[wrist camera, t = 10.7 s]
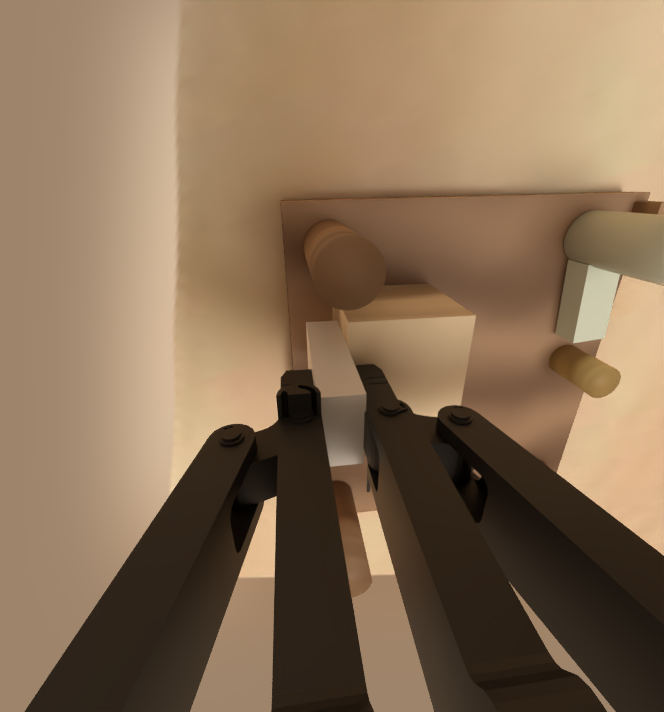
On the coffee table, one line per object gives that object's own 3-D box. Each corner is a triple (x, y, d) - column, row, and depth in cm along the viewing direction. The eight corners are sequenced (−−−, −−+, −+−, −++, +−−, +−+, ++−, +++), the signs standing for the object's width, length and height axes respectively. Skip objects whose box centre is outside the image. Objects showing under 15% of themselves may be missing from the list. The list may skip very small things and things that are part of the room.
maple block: (332, 288, 18) (348, 322, 13) (428, 283, 18) (476, 315, 14) (333, 375, 20) (347, 430, 15) (419, 369, 20) (457, 421, 16)
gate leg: (568, 213, 17) (767, 232, 10) (618, 206, 18) (848, 220, 10) (548, 334, 20) (693, 415, 13) (591, 327, 20) (757, 404, 13)
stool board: (280, 200, 17) (278, 209, 10) (622, 191, 19) (811, 194, 12) (303, 500, 26) (310, 612, 19) (536, 474, 28) (619, 567, 21)
